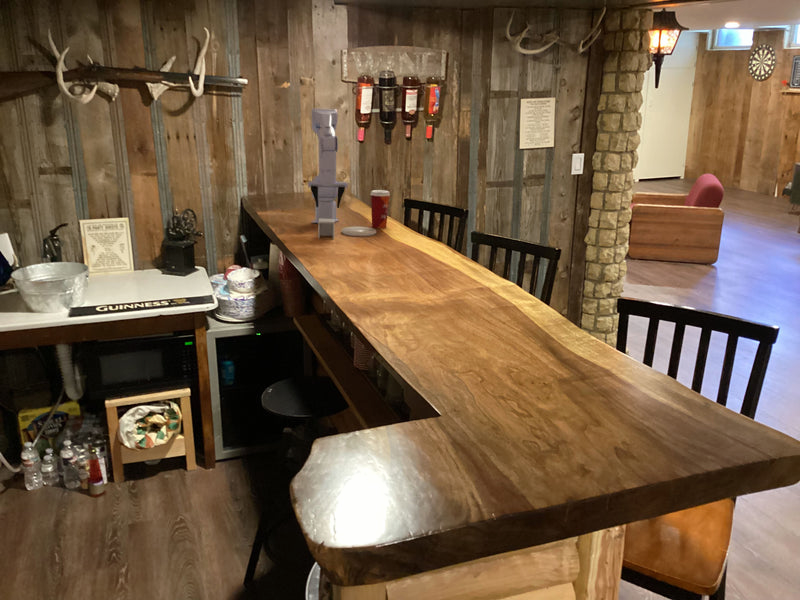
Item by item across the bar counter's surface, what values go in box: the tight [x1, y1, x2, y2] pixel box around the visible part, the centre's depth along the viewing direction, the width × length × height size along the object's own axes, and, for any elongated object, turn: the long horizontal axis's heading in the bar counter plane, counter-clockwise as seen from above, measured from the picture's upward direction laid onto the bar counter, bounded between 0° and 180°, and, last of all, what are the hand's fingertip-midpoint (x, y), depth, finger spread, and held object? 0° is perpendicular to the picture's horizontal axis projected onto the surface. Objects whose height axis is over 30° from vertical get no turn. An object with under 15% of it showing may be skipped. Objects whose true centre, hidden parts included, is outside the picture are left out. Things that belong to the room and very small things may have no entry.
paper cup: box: [369, 189, 391, 229], centre depth 271 cm, size 8×8×14 cm
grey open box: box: [317, 218, 336, 240], centre depth 251 cm, size 6×6×6 cm
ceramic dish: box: [341, 226, 377, 238], centre depth 261 cm, size 13×13×1 cm
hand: (327, 207), depth 257 cm, fingers open, 7 cm apart
